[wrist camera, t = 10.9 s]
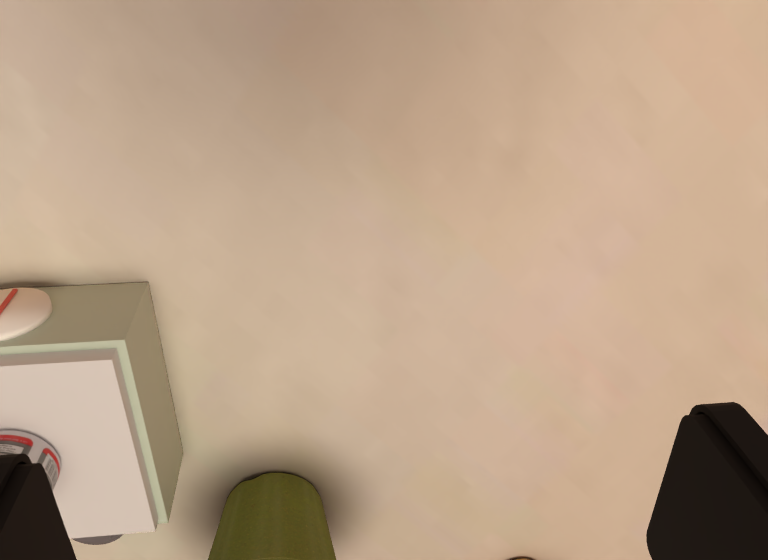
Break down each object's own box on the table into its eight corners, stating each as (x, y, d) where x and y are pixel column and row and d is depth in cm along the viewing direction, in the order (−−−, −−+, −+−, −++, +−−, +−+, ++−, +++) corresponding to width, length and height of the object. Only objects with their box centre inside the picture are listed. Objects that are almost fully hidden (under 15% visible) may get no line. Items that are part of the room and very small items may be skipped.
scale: (-105, 284, 37) (-184, 357, 31) (146, 272, 39) (117, 340, 33) (-26, 468, 45) (-77, 556, 39) (183, 453, 46) (165, 536, 40)
